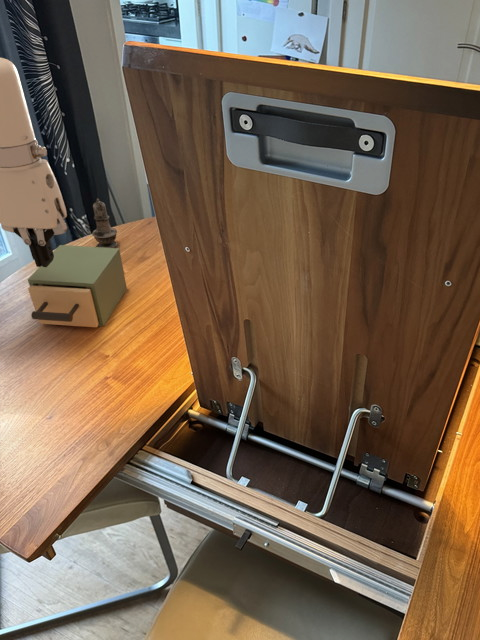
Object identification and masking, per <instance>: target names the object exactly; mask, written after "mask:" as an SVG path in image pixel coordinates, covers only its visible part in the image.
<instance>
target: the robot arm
mask: <svg viewBox="0 0 480 640" xmlns="http://www.w3.org/2000/svg"><path fill="white" fill-rule="evenodd" d="M47 155H48V150H47V148H46V147H45V146H41V145H39V142H38V139H36V135H35V131H34V128H33V124H32V120H31V116H30V113H29V108H28V105H27V101H26V98H25V93H24V90H23V87H22V82H21V79H20V75H19V72H18V69H17V67H16V66H15V64H14V63H13V62H12V61H11V60H9V59H7V58H4V57H0V225H1V229H2V230H3V231H5V232H9V233H12V234H15V235H17V236H18V237H19V238H20V239H22V241H23V243H24V244H25V245H27V246H28V247H29V251H30V254H31V257H32V259H33V261H34V263H35V267H36V268H39V267H41V266H43V267H47V266H48V265H49V264H50V263H51V262H52V261H53V259H54V254H53V252H54V251H53V247H52V244H51V241H50V240H51V239H52V238H53V237H54V236H60V235H63V234H65V233H66V232H67V231H68V230H69V229H68V226H67V223H66V222H65V219H66V218H67V217H68V213H67V208H66V205H65V201H64V199H63V195H62V192H61V190H60V186H59V184H58V181H57V178H56V177H55V174H54V172H53V170H52V168H51V166H50V163H49V162H48V160H47V159H44V158H43V159H42V157H47Z"/></svg>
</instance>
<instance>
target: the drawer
mask: <svg viewBox="0 0 480 640" xmlns="http://www.w3.org/2000/svg"><path fill="white" fill-rule="evenodd" d="M38 285H39V286H30V285H29V287H28V288H27V290H28V293H29V296H30V298H31V299H30V300H31V302H32V305H33V308H34V310H32V311H31V314H30V315H31V319H32V320H36V321H38V323H39V324H40V325H41V324H42V325H54V326H55V325H57V326H69V327H85V328H86V327H87V328H98V327H99V326H98V325H99V323H98V316H97V312H96V308H95V304H94V300H93V296H92V291H91V287H82V286H66V285H50V284H38Z"/></svg>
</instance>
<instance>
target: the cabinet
mask: <svg viewBox="0 0 480 640" xmlns="http://www.w3.org/2000/svg"><path fill="white" fill-rule="evenodd" d="M53 254H54V259H53V261H52V262H51V263H50V264H49V265H48V266H47V267H43V266H41V267H37V268H36V270H35V271H34V272H33V273H32V274H31V275H30V277H28V278H27V282H28V286H29V287H30V286H39V285H38V284H50V285H66V286H82V287H91V291H92V296H93V300H94V304H95V308H96V312H97V316H98V323H99V325H98V326H97V327H105V325H106V324H107V322H108V320H109V319H110V318H111V315H112V314H113V313H114V311H115V309H116V308H117V306H118V305H119V303H120V301H121V299H122V297H123V296H124V294H125V293H126V291H127V290H128V288H127V282H126V277H125V271H124V267H123V261H122V255H121V251H120V248H119V247H117V248H104V247H96V246H86V245H85V246H84V245H69V244H68V245H67V244H59V245H58V246H57V247H56V248H55V249H54V251H53Z"/></svg>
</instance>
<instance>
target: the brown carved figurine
mask: <svg viewBox="0 0 480 640" xmlns="http://www.w3.org/2000/svg"><path fill="white" fill-rule="evenodd" d="M92 208H93V213H94V217H93V220H95V224H96V229H94V230H93V231H92V232H91V234H92V236H93V237H94V240H95V241H96V242H97V244H96V246H95V247H104V248H119V243H118V242H117V241H116V239H117V233H118V230H117V229H116V228H114V227H112V226H111V224H110V221H109V219H110V215H108V212H107V207H106V204H105V202H103V201H100V199H99V198H96V201H95V202H93V205H92Z"/></svg>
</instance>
